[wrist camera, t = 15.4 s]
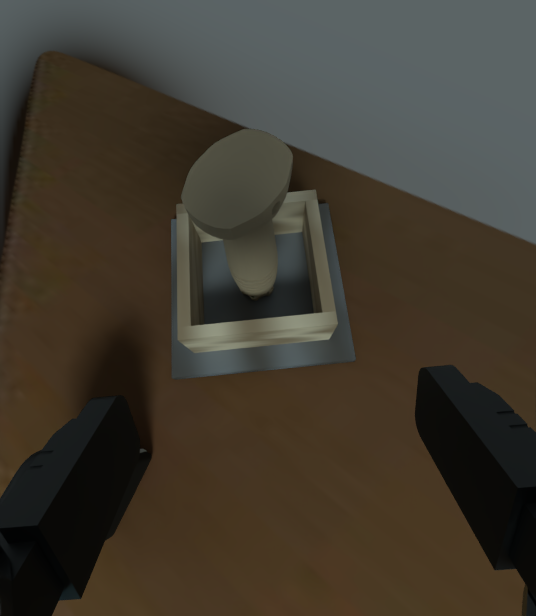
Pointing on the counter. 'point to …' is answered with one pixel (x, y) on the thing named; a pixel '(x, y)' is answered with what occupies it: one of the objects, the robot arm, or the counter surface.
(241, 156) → the handle
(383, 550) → the counter surface
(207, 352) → the cream grey square tray
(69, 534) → the robot arm
